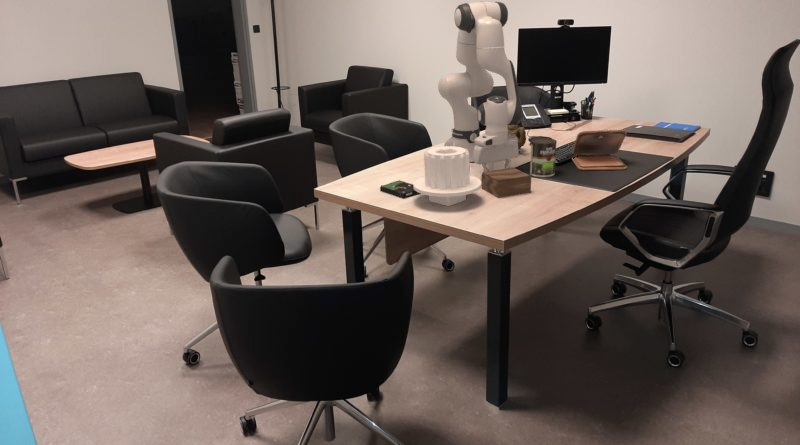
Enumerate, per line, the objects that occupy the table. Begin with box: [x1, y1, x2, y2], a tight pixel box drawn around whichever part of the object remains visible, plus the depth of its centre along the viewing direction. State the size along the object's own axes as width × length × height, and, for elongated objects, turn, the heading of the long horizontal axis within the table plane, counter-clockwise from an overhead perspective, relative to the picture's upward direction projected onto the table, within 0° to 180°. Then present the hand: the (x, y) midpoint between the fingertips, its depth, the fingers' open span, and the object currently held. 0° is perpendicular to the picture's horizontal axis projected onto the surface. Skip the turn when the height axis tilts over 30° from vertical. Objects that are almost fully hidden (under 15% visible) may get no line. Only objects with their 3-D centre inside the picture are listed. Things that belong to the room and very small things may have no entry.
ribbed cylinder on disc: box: [413, 145, 482, 207], centre depth 230 cm, size 25×25×19 cm
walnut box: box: [481, 167, 532, 199], centre depth 241 cm, size 13×14×7 cm
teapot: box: [507, 124, 527, 151], centre depth 296 cm, size 21×12×15 cm, turn 25°
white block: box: [486, 160, 506, 171], centre depth 256 cm, size 5×5×8 cm
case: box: [571, 129, 628, 171], centre depth 269 cm, size 20×21×16 cm
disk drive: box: [379, 180, 422, 199], centre depth 246 cm, size 10×3×15 cm
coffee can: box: [529, 137, 557, 178], centre depth 259 cm, size 10×10×14 cm
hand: (496, 171), depth 256 cm, fingers open, 8 cm apart
